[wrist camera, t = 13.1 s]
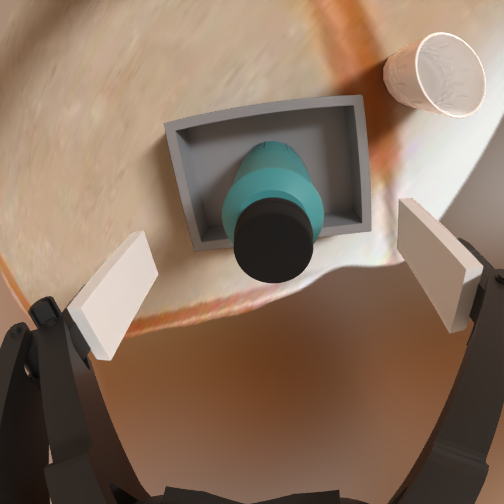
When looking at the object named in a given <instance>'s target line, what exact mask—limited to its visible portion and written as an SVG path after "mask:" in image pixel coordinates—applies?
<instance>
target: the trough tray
mask: <svg viewBox="0 0 504 504" xmlns="http://www.w3.org/2000/svg"><path fill="white" fill-rule="evenodd" d="M164 127H165V132H166V136H167V141H168V146H169V150H170V155H171V159H172V164H173V168H174V172H175V177H176V181H177V185H178V189H179V193H180V197H181V201H182V205H183V209H184V213H185V217H186V221H187V225H188V229H189V233H190V237H191V240H192V244H193V248H194V252H197V251H205V250H213V249H221V248H230V247H234V245H233V244H232V242H231V241H230V240H229V238H228V236H227V234H226V232H225V229H224V226H223V222H222V207H223V203H224V199H225V197H226V195H227V193H228V191H229V189H230V188H231V187H232V184H233V182H234V179H235V177H236V173H237V172H238V170H239V168H240V166H241V164H242V161H243V159H244V157H245V156H246V155H247V153H248V152H249V151H250V150H251V149H252V148H253V147H255V146H256V145H258V144H260V143H263V142H267V141H277V142H281V143H284V144H286V145H288V146H290V147H291V148H292V149H293V150H296V151H297V152H298V153H297V152H296V151H295V152H296V153H297V154H299V155H298V156H299V157H300V159H301V161H302V163H303V164H305V165H304V166H305V168H307V169H308V170H307V169H306V170H307V172H308V173H309V176H310V179H312V180H311V181H312V183H314V184H313V186H314V187H315V188H316V190H317V192H318V193H319V196H320V198H321V201H322V204H323V210H324V221H323V226H322V230H321V232H320V234H319V236H318V237H324V236H333V235H342V234H351V233H360V232H369V231H371V187H370V167H369V152H368V140H367V129H366V119H365V110H364V102H363V95H343V96H327V97H314V98H303V99H293V100H285V101H277V102H269V103H262V104H255V105H249V106H243V107H237V108H231V109H226V110H220V111H215V112H210V113H206V114H201V115H196V116H192V117H187V118H183V119H179V120H175V121H171V122H167V123H164ZM253 145H254V146H253ZM294 148H295V149H294ZM243 156H244V157H243Z"/></svg>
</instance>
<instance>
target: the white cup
mask: <svg viewBox="0 0 504 504" xmlns="http://www.w3.org/2000/svg"><path fill="white" fill-rule="evenodd" d="M383 81H384V83H385V85H386V87H387V90H388V92H389V93H390V94H391V95H392V96H393V97H394V98H395V99H396V100H397V101H398V102H399V103H402V104H404V105H407V106H409V107H413V108H416V109H420V110H424V111H427V112H432V113H436V114H441V115H445V116H449V117H453V118H465V117H469V116H471V115H472V114H474V113H475V112H476V111H477V110H478V109H479V108H480V106H481V105H482V103H483V100H484V97H485V92H486V79H485V74H484V70H483V67H482V64H481V62H480V60H479V58H478V57H477V55H476V54H475V52H474V51H473V50H472V48H471V47H470V46H469V45H468V44H467V43H466V42H464V41H463V40H462V39H460V38H458V37H457V36H455V35H452V34H449V33H443V32H438V33H433V34H430V35H428V36H426V37H424V38H422V39H420V40H418V41H415V42H413V43H411V44H409V45H408V46H406V47H404V48H402V49H400V50H399V51H398V52H397V53H395V54H393V55H392V56H390V57H389V58H388V59H387V61H386V63H385V65H384V67H383Z"/></svg>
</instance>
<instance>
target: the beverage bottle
mask: <svg viewBox="0 0 504 504" xmlns="http://www.w3.org/2000/svg"><path fill="white" fill-rule="evenodd" d="M253 146H254V145H253ZM294 149H295V148H294ZM295 151H296V150H293V149H292V148H291V147H290V146H288V145H286V144H284V143H281V142H277V141H267V142H263V143H260V144H258V145H256V146H255V147H253V148H252V149H251V150H250V151H249V152H248V153H247V155H246V156H245V157H244V156H243V157H244V159H243V161H242V164H241V166H240V168H239V170H238V172H237V173H236V177H235V179H234V182H233V184H232V187H231V188H230V189H229V191H228V193H227V195H226V197H225V199H224V203H223V207H222V222H223V226H224V229H225V232H226V234H227V236H228V238H229V240H230V241H231V242H232V244H233V245H234V254H235V258H236V260H237V262H238V264H239V266H240V267H241V269H242V270H243V271H244V272H245V273H246V274H247V275H249V276H250V277H252V278H254V279H256V280H258V281H261V282H265V283H282V282H286V281H289V280H291V279H293V278H295V277H297V276H298V275H300V274H301V273H302V272H303V271H304V270H305V268H306V267H307V266H308V264H309V262H310V260H311V257H312V254H313V244H314V243H315V241H316V240H317V238H318V236H319V234H320V232H321V230H322V226H323V221H324V210H323V204H322V201H321V198H320V196H319V193H318V192H317V190H316V188H315V187H314V186H313V184H314V183H312V181H311V180H312V179H310V176H309V173H308V172H307V170H308V169H307V168H305V166H304V165H305V164H303V163H302V161H301V159H300V157H299V156H298V155H299V154H297V153H298V152H297V151H296V152H297V153H296V152H295ZM306 169H307V170H306Z"/></svg>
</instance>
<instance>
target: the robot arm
mask: <svg viewBox="0 0 504 504" xmlns="http://www.w3.org/2000/svg"><path fill="white" fill-rule="evenodd" d="M397 249H398V251H399V252H400V254H401V255H402V257H403V258H404V260H405V261H406V262H407V264H408V266H409V267H410V269H411V270H412V272H413V273H414V275H415V276H416V278H417V279H418V281H419V283H420V284H421V286H422V287H423V289H424V290H425V292H426V294H427V296H428V297H429V299H430V300H431V302H432V304H433V305H434V307H435V309H436V310H437V312H438V314H439V316H440V317H441V319H442V321H443V323H444V324H445V326H446V328H447V330H448V332H449V333H453V332H456V331H461V330H465V329H466V327H467V324H468V321H469V317H470V318H471V319H472V321H473V322H474V326H473V329H472V332H471V335H470V337H469V340H468V342H467V348H466V351H465V354H464V357H463V360H462V363H461V365H460V368H459V371H458V374H457V376H456V379H455V381H454V384H453V387H452V389H451V391H450V394H449V396H448V399H447V401H446V403H445V405H444V408H443V410H442V412H441V414H440V417H439V419H438V421H437V423H436V425H435V427H434V429H433V431H432V433H431V435H430V437H429V439H428V441H427V442H426V444H425V446H424V448H423V450H422V452H421V453H420V455H419V457H418V459H417V461H416V462H415V464H414V466H413V467H412V469H411V471H410V472H409V474H408V475H407V477H406V479H405V480H404V482H403V483H402V485H401V486H400V487H399V489H398V490H397V491H396V493H395V494H394V496H393V497H392V498H391V500H390V501H389V503H388V504H475V501H476V499H477V497H478V495H479V493H480V491H481V488H482V486H483V484H484V482H485V479H486V476H487V473H488V467H489V465H487V464H486V457H487V454H488V452H489V449H490V446H491V443H492V440H493V437H494V434H495V431H496V428H497V425H498V421H499V418H500V414H501V411H502V407H503V403H504V269H494V268H493V266H492V265H491V264H490V263H489V262H488V261H487V260H486V259H485V258H484V257H483V256H482V255H480V253H479V252H478V251H477V250H475V248H474V247H473V246H472V245H471V244H470V243H468V242H467V241H465V240H463V239H461V238H455V237H454V236H453V235H452V234H451V233H450V232H449V231H448V230H447V229H446V228H445V227H444V226H443V225H442V224H441V223H440V222H439V221H438V220H436V219H435V218H434V217H433V216H432V215H431V214H430V213H429V212H428V211H426V210H425V209H424V208H423V207H422V206H421V205H420V204H419V203H417V202H416V201H415V200H414V199H413V198H406V199H399V213H398V238H397ZM158 275H159V274H158V271H157V269H156V266H155V263H154V260H153V257H152V254H151V251H150V248H149V245H148V242H147V239H146V236H145V233H144V230H143V231H137V232H131V234H130V235H129V236H128V237H127V238H126V239H125V240H124V241H123V242H122V243H121V244H120V246H119V247H118V248H117V249H116V250H115V251H114V252H113V253H112V254H111V256H110V257H109V258H108V259H107V260H106V261H105V262H104V264H103V265H102V266H101V267H100V268H99V269H98V270H97V272H96V273H95V274H94V275H93V276H92V277H91V279H90V280H89V281H88V282H87V283H86V284H85V285H84V286H83V287H82V288H81V289H80V291H79V293H77V294H76V296H75V297H74V299H72V301H71V302H70V303H69V304H68V306H67V307H66V308H65V309H64V311H63V312H62V313H61V311H60V309H59V308H58V306H57V304H56V302H55V300H54V298H53V297H51V296H49V297H44V298H42V299H40V300H38V301H37V302H35V303H34V304H33V305H32V306H31V307H30V309H29V311H28V313H29V315H30V316H31V318H32V320H33V321H34V323H35V325H36V326H37V328H38V329H36V330H33V331H30V330H29V328H28V326H27V325H26V323H24V322H21V323H18V324H15V325H13V326H12V327H11V328H10V329H9V330H8V332H7V334H6V335H5V338H4V340H3V343H2V346H1V348H0V504H50V498H51V502H52V504H243V503H239V502H236V501H232V500H229V499H226V498H222V497H219V496H216V495H213V494H210V493H207V492H203V491H194V490H187V489H179V488H173V487H167V486H166V488H165V492H164V495H159V496H153V497H151V496H150V495H149V494H148V493H147V492H146V491H145V489H144V488H143V487H142V485H141V484H140V482H139V480H138V478H137V476H136V474H135V472H134V470H133V468H132V466H131V464H130V462H129V460H128V458H127V456H126V453H125V451H124V449H123V447H122V445H121V442H120V440H119V438H118V435H117V433H116V431H115V428H114V426H113V423H112V421H111V419H110V416H109V413H108V411H107V408H106V405H105V402H104V400H103V397H102V394H101V392H100V389H99V386H98V382H97V380H96V376H95V373H94V370H93V367H92V364H91V361H90V360H89V358H88V356H87V355H88V353H89V351H90V350H91V351H92V352H93V354H94V355H95V357H96V359H97V360H110V361H111V360H112V358H113V356H114V354H115V352H116V350H117V348H118V346H119V344H120V342H121V341H122V339H123V337H124V335H125V333H126V331H127V329H128V328H129V326H130V324H131V322H132V320H133V318H134V317H135V315H136V313H137V311H138V309H139V308H140V306H141V304H142V302H143V301H144V299H145V297H146V295H147V294H148V292H149V290H150V288H151V287H152V285H153V283H154V281H155V280H156V278H157V276H158ZM24 367H25V368H26V370H27V371H28V372H29V375H27V374H26V372H25V368H24ZM49 445H50V450H51V455H52V460H53V463H51V464H49ZM253 504H368V503H366V502H362V501H359V500H354V499H350V498H340V495H339V490H334V491H325V492H315V493H301V494H292V495H289V496H284V497H280V498H276V499H272V500H267V501H263V502H258V503H253Z"/></svg>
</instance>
